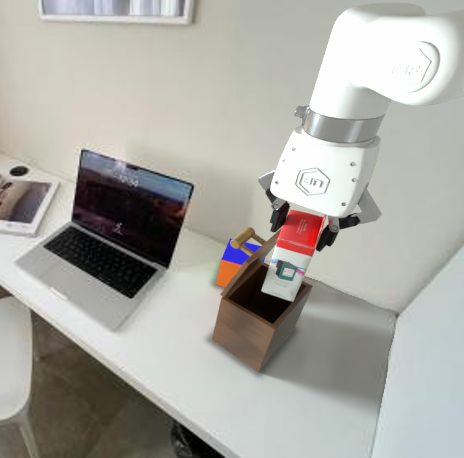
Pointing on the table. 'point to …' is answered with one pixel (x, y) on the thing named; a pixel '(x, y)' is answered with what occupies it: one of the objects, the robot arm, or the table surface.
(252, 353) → the chest
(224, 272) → the cube
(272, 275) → the ink box
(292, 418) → the table surface
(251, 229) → the wooden box lid
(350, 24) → the robot arm
